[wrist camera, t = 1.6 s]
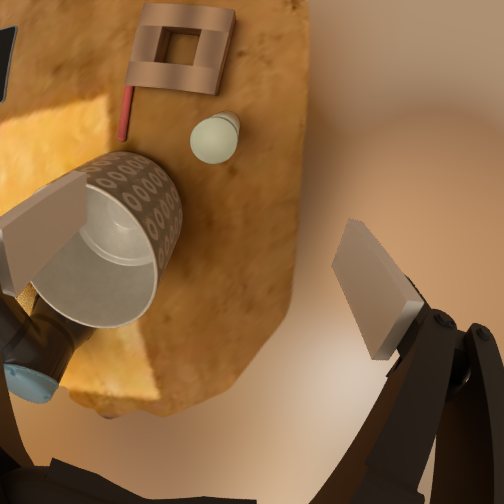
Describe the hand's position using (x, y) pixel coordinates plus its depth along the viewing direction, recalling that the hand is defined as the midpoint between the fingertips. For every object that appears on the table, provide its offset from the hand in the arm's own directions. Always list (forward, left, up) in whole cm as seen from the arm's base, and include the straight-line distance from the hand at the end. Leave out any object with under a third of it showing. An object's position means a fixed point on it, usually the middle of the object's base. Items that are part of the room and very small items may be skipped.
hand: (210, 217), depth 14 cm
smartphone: (-46, +11, -31) cm, 57 cm away
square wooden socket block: (-9, +12, -31) cm, 34 cm away
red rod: (-16, +3, -31) cm, 35 cm away
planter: (-14, -13, -31) cm, 37 cm away
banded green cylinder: (-1, +2, -31) cm, 31 cm away
